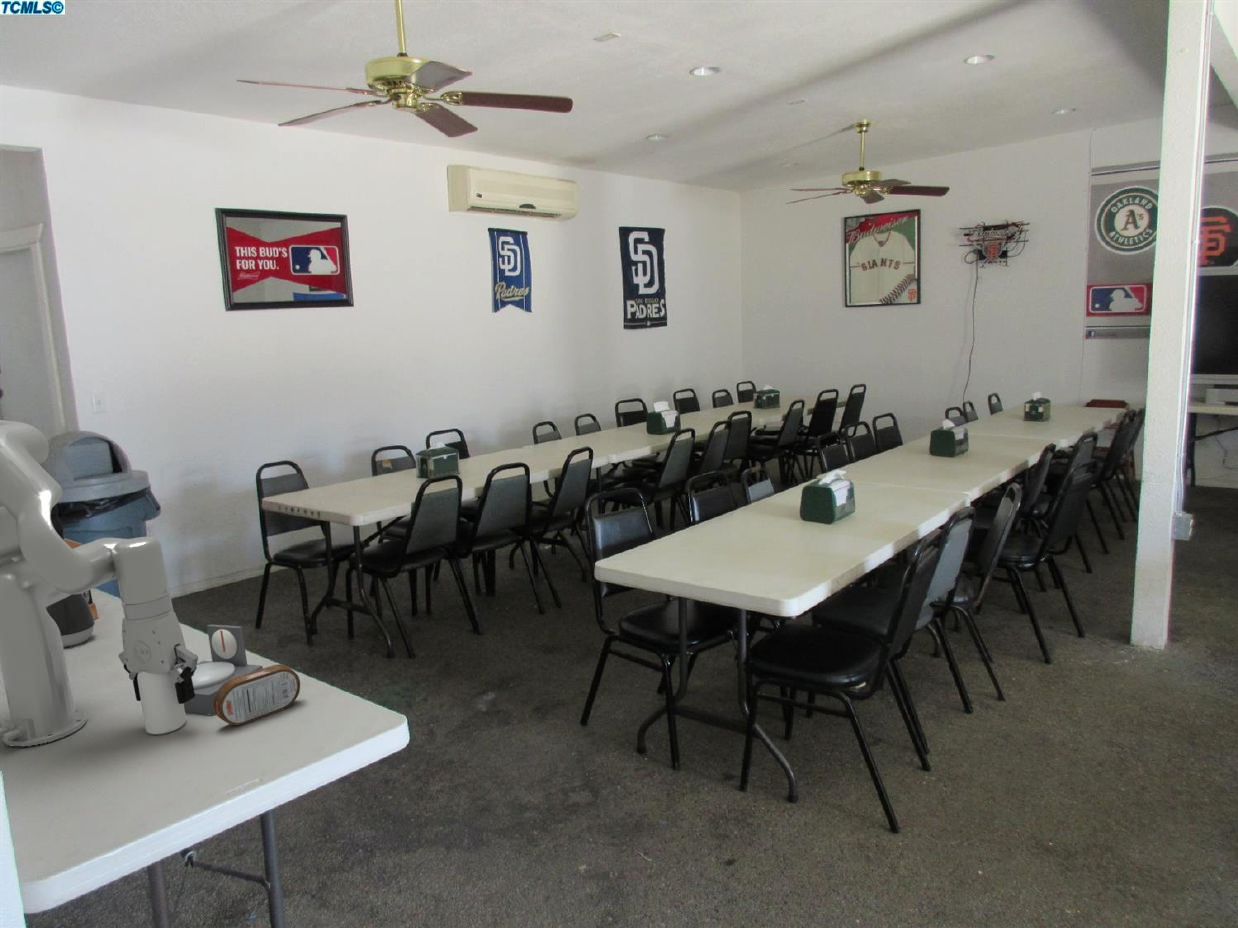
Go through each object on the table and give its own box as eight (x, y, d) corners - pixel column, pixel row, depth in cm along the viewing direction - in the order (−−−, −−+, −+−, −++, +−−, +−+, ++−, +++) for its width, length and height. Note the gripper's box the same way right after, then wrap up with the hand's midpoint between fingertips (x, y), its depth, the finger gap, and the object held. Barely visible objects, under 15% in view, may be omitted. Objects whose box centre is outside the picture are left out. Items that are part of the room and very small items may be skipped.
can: (176, 716, 159) (166, 654, 157) (192, 724, 155) (182, 661, 153) (140, 730, 154) (129, 666, 152) (155, 739, 150) (144, 674, 148)
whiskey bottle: (101, 617, 222) (79, 496, 217) (69, 631, 213) (46, 505, 208) (68, 616, 225) (46, 497, 220) (35, 630, 215) (11, 505, 210)
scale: (212, 715, 158) (203, 653, 156) (150, 708, 163) (140, 648, 161) (264, 684, 171) (256, 627, 169) (205, 679, 176) (197, 623, 174)
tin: (298, 699, 163) (292, 657, 161) (305, 703, 161) (299, 661, 159) (216, 729, 152) (209, 684, 151) (222, 734, 150) (215, 688, 149)
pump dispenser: (37, 648, 202) (25, 586, 199) (82, 633, 211) (71, 573, 208) (61, 653, 197) (49, 590, 194) (106, 638, 206) (95, 577, 203)
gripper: (92, 614, 150) (111, 706, 153) (168, 616, 144) (186, 711, 147) (129, 600, 157) (146, 688, 160) (202, 601, 151) (219, 692, 154)
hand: (165, 699), depth 153 cm, fingers open, 9 cm apart
